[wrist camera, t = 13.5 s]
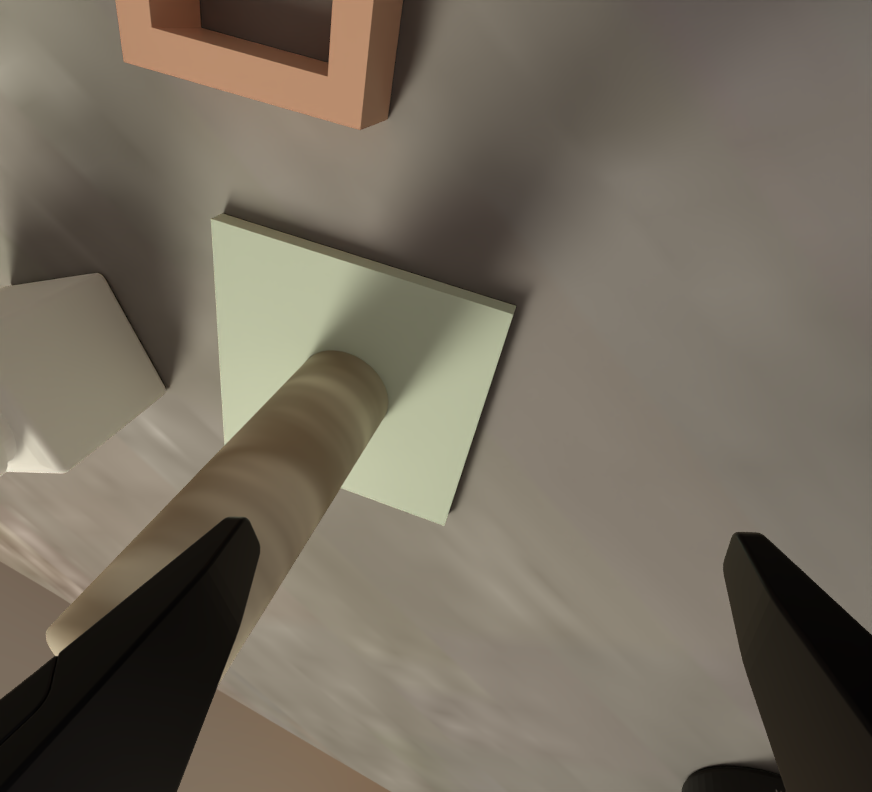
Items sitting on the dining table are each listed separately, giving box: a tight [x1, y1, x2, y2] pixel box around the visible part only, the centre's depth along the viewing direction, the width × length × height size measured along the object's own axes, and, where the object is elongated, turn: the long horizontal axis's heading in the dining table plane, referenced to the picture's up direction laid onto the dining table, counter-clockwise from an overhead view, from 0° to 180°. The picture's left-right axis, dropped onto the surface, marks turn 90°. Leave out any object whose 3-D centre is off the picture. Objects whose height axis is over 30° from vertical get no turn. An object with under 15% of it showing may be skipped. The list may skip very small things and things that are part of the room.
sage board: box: [211, 213, 516, 526], centre depth 25 cm, size 13×13×1 cm
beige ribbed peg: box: [46, 350, 388, 687], centre depth 20 cm, size 4×4×14 cm
